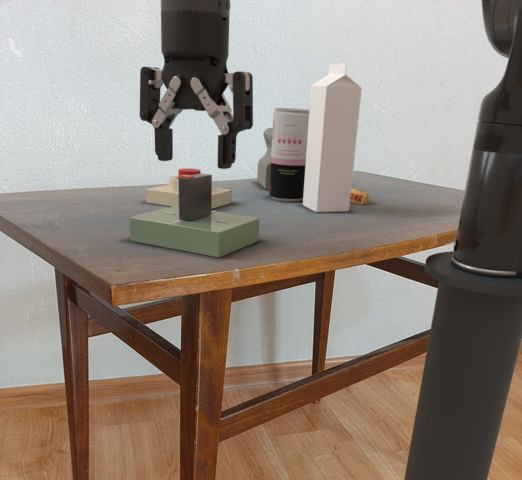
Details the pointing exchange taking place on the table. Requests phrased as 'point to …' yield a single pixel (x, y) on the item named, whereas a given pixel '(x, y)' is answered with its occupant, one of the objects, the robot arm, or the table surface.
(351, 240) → the table surface
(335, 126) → the milk
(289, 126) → the beverage can
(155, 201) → the base
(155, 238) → the green flat block
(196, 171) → the power button
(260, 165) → the grey irregular figure
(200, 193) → the dark grey square slab
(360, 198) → the chocolate bar
